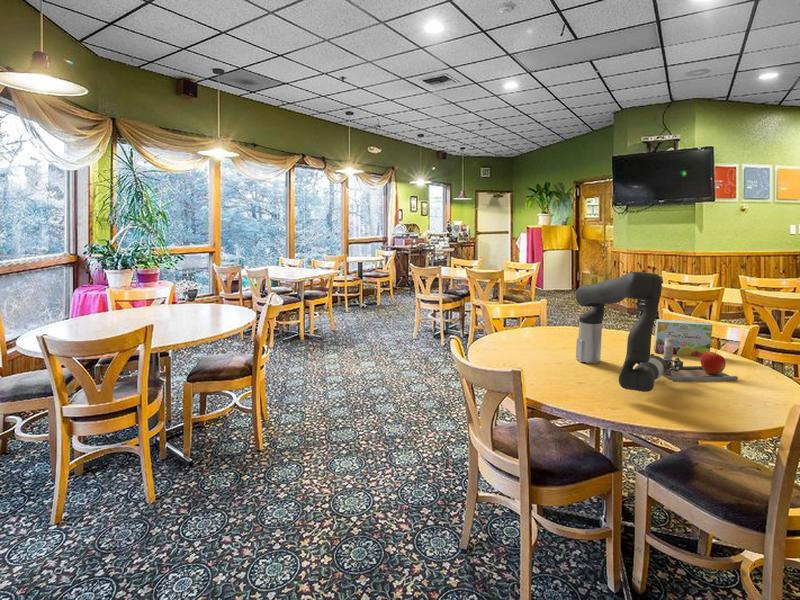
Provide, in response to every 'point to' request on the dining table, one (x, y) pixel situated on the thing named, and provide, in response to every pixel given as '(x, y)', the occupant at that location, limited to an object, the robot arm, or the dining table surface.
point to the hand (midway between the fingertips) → (665, 358)
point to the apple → (712, 362)
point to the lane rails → (702, 378)
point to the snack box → (683, 337)
